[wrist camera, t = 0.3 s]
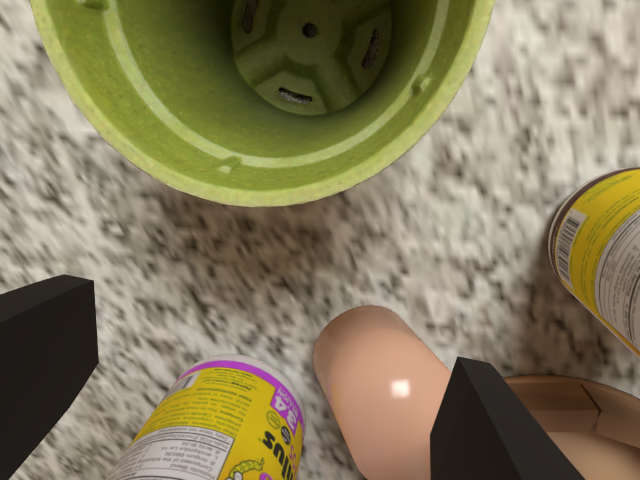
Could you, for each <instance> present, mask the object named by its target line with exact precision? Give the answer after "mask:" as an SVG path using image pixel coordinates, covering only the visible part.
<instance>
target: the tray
mask: <svg viewBox="0 0 640 480" xmlns="http://www.w3.org/2000/svg"><path fill="white" fill-rule="evenodd" d="M503 379H504V380H505V382H506V383H507V384H508V385H509V387H510V388H511V389H512V391H513V392H514V393H515V394H516V396H517V397H518V398H519V399H520V401H521V402H522V403H523V404H524V406H525V407H526V408H527V409H528V411H529V412H530V413H531V414H532V416H533V417H534V418H535V419H536V421H537V422H538V423H539V424H540V426H541V427H542V428H543V429H544V431H545V432H546V433H547V434H548V436H549V437H550V438H551V439H552V440H553V442H554V443H555V444H556V445H557V446H558V448H559V449H560V450H561V451H562V452H563V454H564V455H565V456H566V457H567V458H568V460H569V461H570V462H571V463H572V464H573V466H574V467H575V468H576V469H577V470H578V471H579V472H580V474H581V475H582V476H583V477H584V478H585V479H586V480H640V399H638V398H636V397H635V396H633V395H630V394H628V393H625V392H623V391H621V390H618V389H616V388H613V387H611V386H607V385H604V384H600V383H596V382H592V381H589V380H585V379H578V378H572V377H565V376H552V375H525V376H510V377H504V378H503ZM366 480H368V479H367V478H366ZM429 480H431V479H429Z"/></svg>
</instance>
